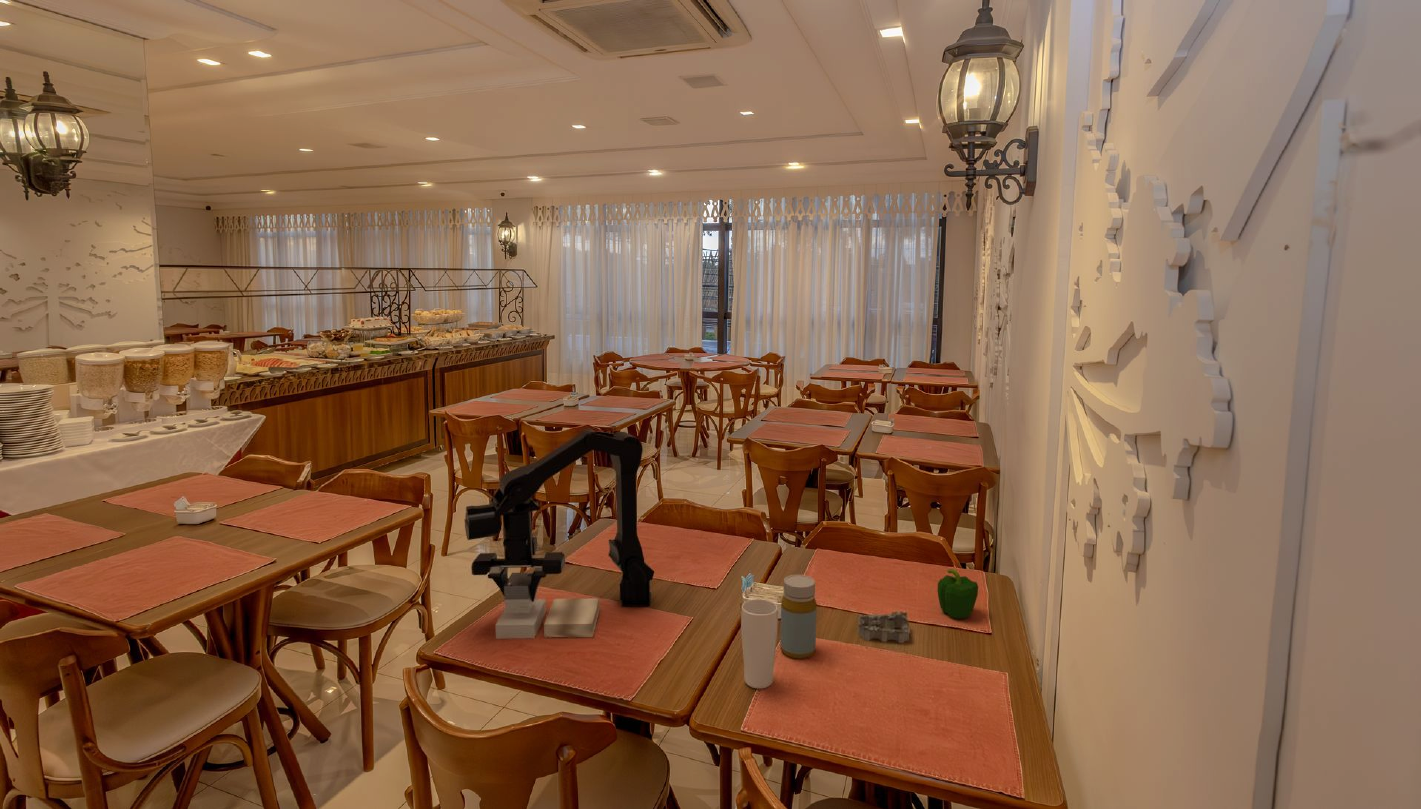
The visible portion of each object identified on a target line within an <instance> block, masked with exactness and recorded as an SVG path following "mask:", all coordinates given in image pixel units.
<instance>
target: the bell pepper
mask: <svg viewBox="0 0 1421 809" xmlns="http://www.w3.org/2000/svg"><path fill="white" fill-rule="evenodd" d="M947 573H948V574H953V575H954V576H952V575H947V574H946V575H944V577H943V578H940V579H939V581H938V582H937V597H938V602H939V606H940V609H941V611H942V612H943V613H944V614H947V615H948V616H949V617H950V618H953V619H957V620H962V619H963V620H964V619H966V618H968V617H969V616H971V614H972V613H973V610H974V607H975V605H976V602H977V598H978V596H979V595H978V594H979V585H978V582H977V581H973V580H971V579H970V578H968V577H967V576H966V575H965V576H960V574H959V572H957V570H955V569H953V568H948V569H947Z"/></svg>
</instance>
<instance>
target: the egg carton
mask: <svg viewBox="0 0 1421 809" xmlns="http://www.w3.org/2000/svg"><path fill="white" fill-rule="evenodd" d="M908 617H909V616H908V614H907V612H903V611H893V612H891V614H889V613H888V614H887V613H884V614H869V615H864V614H858V615H857V619H858V621H857V622H858V626H857V629H858V637H859V638H862V639H863V640H864V641H871V640H872V639H878V640H879V641H880V642H884V643H887V642H888V641H889V640H890V641H891V640H892V641H896V642H897V643H899V644H904V643H905V642H909V641H910V638H909V637H910V633H911V632H910V631H911V630H910V624H909V618H908ZM881 627H883V628H881ZM884 628H885V629H884ZM896 628H897V629H900V630H897V629H896ZM886 629H887V630H886Z"/></svg>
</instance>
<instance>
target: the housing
mask: <svg viewBox="0 0 1421 809" xmlns="http://www.w3.org/2000/svg"><path fill="white" fill-rule="evenodd" d="M533 572H534V571H528V572H525V571H524V572H511V573H510V575H509V576H508V580H507V582H506V584H505V585H504V595H503V597H504V596H505V597H504V609H505V613H529V612H530V610H531V608H532V606H533V604H534V602H535V600H536V599H537V595H536V596H535V600H534V602H532V598H531V576H532V574H533Z"/></svg>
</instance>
